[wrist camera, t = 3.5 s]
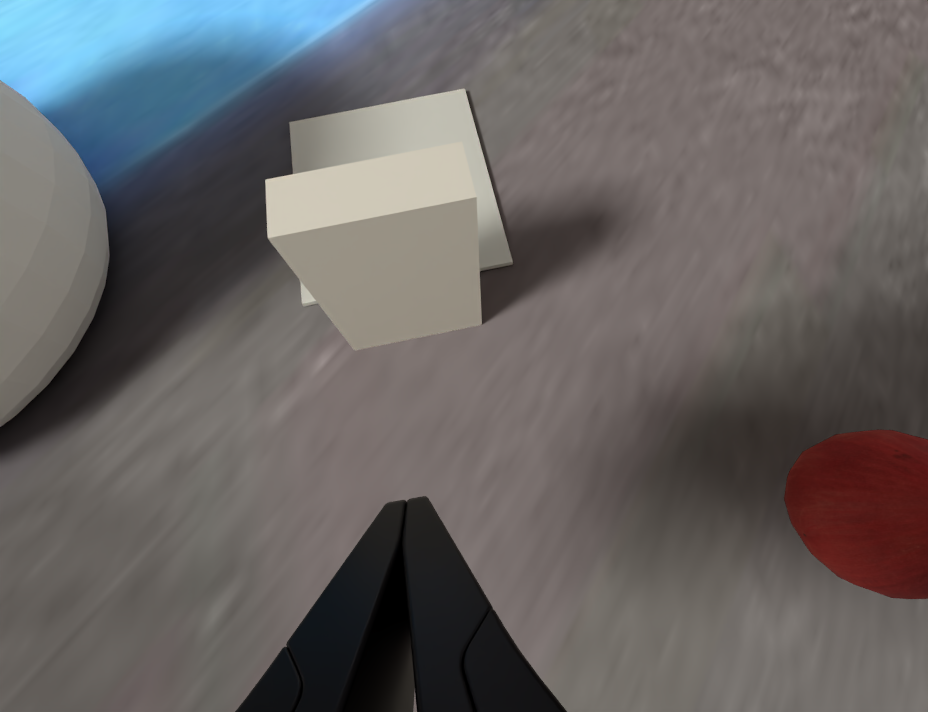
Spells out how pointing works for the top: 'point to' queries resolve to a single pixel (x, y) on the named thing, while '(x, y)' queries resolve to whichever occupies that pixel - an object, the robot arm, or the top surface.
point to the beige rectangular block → (384, 243)
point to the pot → (43, 251)
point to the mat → (400, 133)
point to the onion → (865, 509)
